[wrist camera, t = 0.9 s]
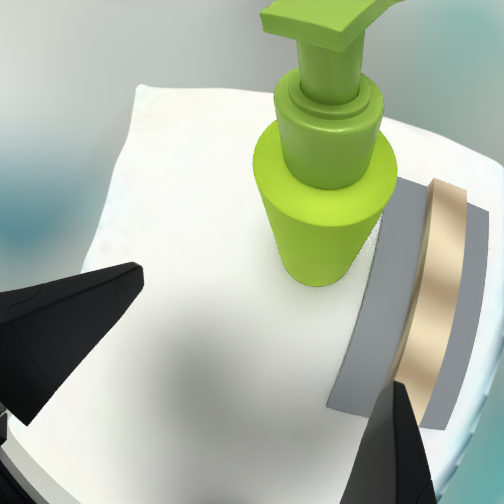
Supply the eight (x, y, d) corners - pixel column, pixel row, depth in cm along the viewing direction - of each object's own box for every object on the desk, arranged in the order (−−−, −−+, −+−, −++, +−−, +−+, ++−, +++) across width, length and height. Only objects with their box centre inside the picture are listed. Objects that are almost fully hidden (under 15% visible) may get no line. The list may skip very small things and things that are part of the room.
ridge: (409, 425, 17) (416, 431, 15) (371, 418, 18) (376, 424, 16) (459, 199, 21) (466, 190, 19) (427, 186, 22) (434, 177, 20)
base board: (440, 428, 17) (444, 430, 16) (326, 405, 19) (327, 407, 19) (485, 215, 21) (488, 211, 20) (388, 178, 24) (390, 174, 23)
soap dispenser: (371, 232, 23) (470, 4, 4) (326, 301, 22) (425, 118, 3) (313, 195, 24) (302, -47, 5) (266, 259, 24) (144, 32, 5)
